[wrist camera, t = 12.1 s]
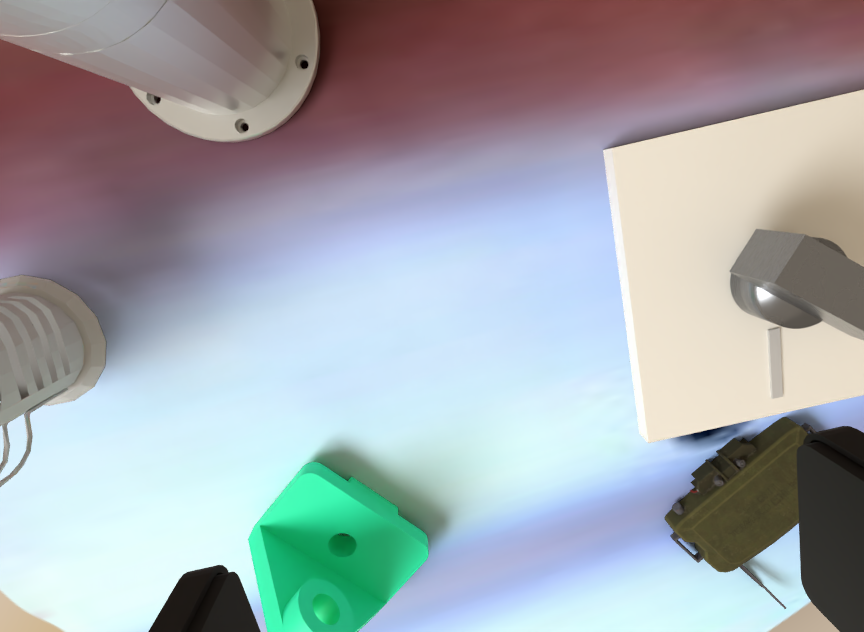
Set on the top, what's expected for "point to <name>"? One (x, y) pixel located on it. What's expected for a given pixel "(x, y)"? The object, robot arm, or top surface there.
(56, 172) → the top surface
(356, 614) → the camera mount
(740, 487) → the landmine
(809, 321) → the knob
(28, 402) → the french press
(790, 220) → the dial plate
